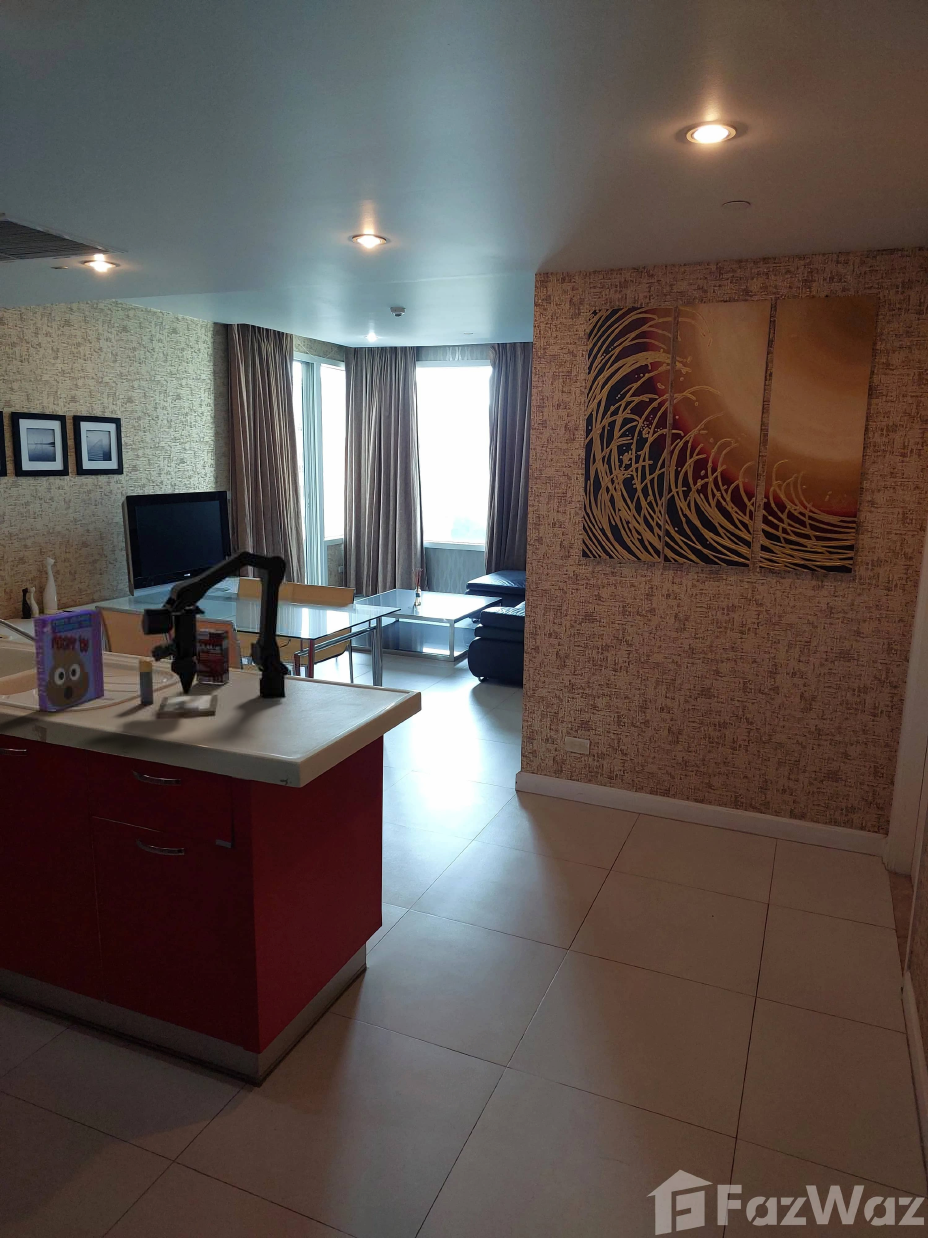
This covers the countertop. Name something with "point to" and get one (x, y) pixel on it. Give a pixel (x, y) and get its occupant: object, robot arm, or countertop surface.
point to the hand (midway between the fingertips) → (187, 690)
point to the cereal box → (69, 659)
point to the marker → (146, 681)
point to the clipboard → (187, 706)
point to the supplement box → (213, 656)
